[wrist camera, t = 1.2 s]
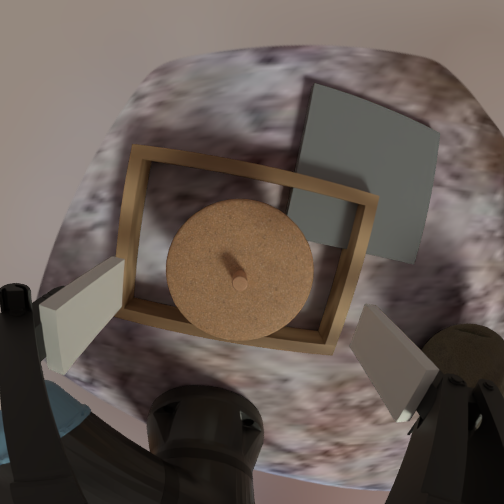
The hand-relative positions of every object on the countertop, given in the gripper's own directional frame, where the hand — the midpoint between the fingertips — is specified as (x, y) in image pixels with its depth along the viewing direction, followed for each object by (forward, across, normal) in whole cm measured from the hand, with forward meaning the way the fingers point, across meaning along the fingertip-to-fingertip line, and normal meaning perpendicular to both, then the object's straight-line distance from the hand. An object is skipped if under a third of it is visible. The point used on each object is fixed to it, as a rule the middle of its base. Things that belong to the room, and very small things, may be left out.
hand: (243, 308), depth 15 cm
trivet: (+14, -11, -10) cm, 20 cm away
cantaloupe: (+14, -29, +9) cm, 33 cm away
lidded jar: (+14, 0, 0) cm, 14 cm away
